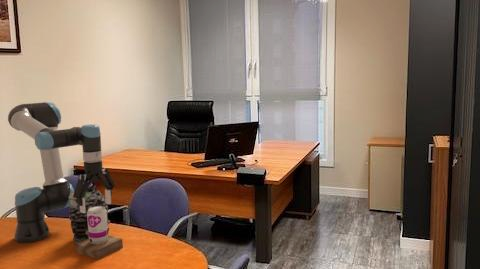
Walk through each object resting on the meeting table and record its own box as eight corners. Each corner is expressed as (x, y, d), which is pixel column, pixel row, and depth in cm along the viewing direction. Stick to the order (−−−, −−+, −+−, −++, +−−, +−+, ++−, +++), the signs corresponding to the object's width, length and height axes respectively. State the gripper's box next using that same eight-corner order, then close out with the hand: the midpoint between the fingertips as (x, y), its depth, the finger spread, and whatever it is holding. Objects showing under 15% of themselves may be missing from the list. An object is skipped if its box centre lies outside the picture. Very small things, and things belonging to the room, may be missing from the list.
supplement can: (102, 245, 182) (100, 212, 180) (85, 244, 184) (82, 211, 182) (112, 238, 190) (109, 206, 188) (95, 237, 192) (93, 205, 189)
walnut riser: (76, 252, 185) (75, 243, 185) (102, 241, 197) (101, 233, 196) (97, 259, 178) (96, 250, 177) (122, 247, 190) (122, 238, 189)
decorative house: (89, 247, 190) (84, 194, 187) (63, 243, 196) (58, 191, 192) (117, 231, 210) (114, 182, 206) (93, 227, 215) (89, 180, 211)
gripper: (73, 167, 169) (77, 218, 173) (121, 156, 190) (123, 201, 193) (61, 165, 173) (65, 215, 177) (109, 154, 194) (112, 199, 197)
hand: (96, 208), depth 185 cm, fingers open, 13 cm apart
